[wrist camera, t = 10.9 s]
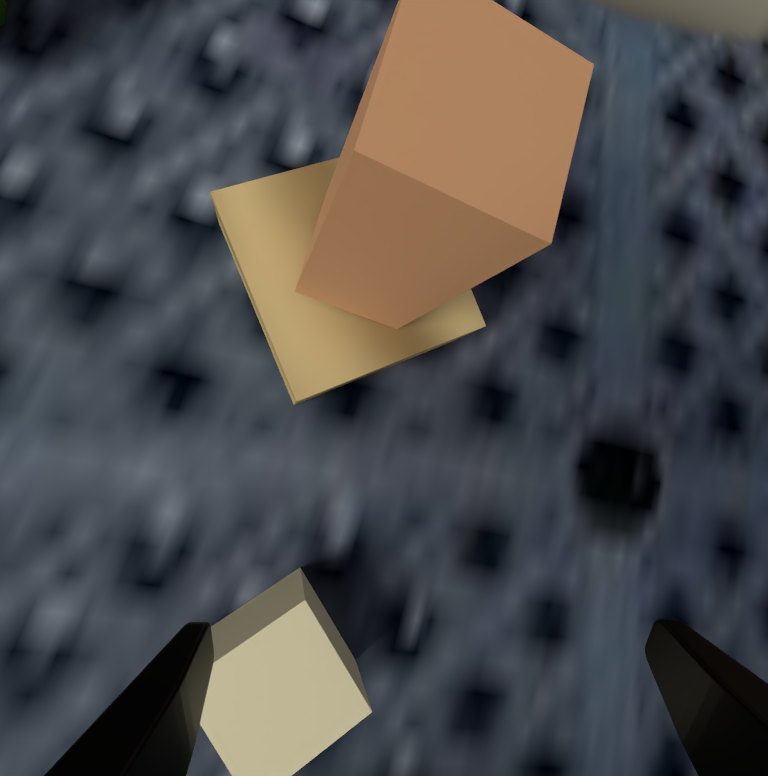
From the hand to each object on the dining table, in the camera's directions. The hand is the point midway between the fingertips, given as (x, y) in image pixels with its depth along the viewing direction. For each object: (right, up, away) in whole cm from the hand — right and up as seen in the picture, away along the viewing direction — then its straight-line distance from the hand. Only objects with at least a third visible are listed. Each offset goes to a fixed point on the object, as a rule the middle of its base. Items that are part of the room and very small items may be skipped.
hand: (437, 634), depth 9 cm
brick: (-6, -7, +11) cm, 14 cm away
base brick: (-3, +10, +13) cm, 17 cm away
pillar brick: (-2, +10, +10) cm, 14 cm away
